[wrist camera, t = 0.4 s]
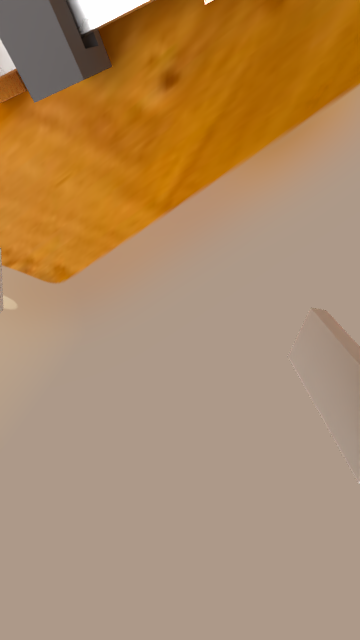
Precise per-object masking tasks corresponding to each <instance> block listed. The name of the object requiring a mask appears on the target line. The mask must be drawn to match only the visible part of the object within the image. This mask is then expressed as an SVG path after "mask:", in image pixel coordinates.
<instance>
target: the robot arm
mask: <svg viewBox="0 0 360 640" xmlns="http://www.w3.org/2000/svg"><path fill="white" fill-rule="evenodd" d="M2 291H3V290H2V265H1V248H0V313H1V312H2V311H3V292H2ZM288 359H289V360H290V362H291V364H292V366H293V368H294V369H295V371H296V373H297V375H298V376H299V378H300V380H301V382H302V384H303V385H304V387H305V389H306V391H307V393H308V394H309V396H310V398H311V400H312V401H313V403H314V405H315V407H316V408H317V410H318V412H319V414H320V416H321V417H322V419H323V421H324V423H325V425H326V426H327V428H328V430H329V432H330V433H331V435H332V437H333V439H334V441H335V442H336V444H337V446H338V448H339V450H340V451H341V453H342V455H343V457H344V458H345V460H346V462H347V464H348V466H349V467H350V469H351V471H352V473H353V475H354V476H355V478H356V480H357V482H358V483H360V346H359V345H358V344H357V343H356V342H355V341H354V340H353V339H352V338H351V337H350V336H349V335H348V334H347V332H345V330H344V329H343V328H342V327H341V326H340V325H339V324H338V323H337V322H336V321H335V320H334V318H333V317H332V316H331V315H330V314H329V313H328V312H327V311H326V310H321V309H316V308H310V310H309V312H308V314H307V316H306V319H305V321H304V323H303V325H302V327H301V329H300V331H299V333H298V336H297V338H296V340H295V342H294V344H293V346H292V348H291V350H290V352H289V354H288Z"/></svg>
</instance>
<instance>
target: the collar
mask: <svg viewBox="0 0 360 640" xmlns="http://www.w3.org/2000/svg"><path fill="white" fill-rule="evenodd" d="M0 39H1V41H2V43H3V45H4V47H5V49H6V50H7V52H8V54H9V56H10V58H11V60H12V62H13V63H14V65H15V67H16V69H17V71H18V73H19V75H20V76H21V78H22V80H23V82H24V84H25V86H26V88H27V89H28V91H29V93H30V95H31V97H32V99H33V100H34V102H37V101H39V100H41V99H43V98H46V97H48V96H50V95H52V94H54V93H56V92H59V91H61V90H63V89H65V88H67V87H69V86H71V85H74V84H76V83H78V82H80V81H82V80H84V79H86V78H89V77H91V76H93V75H95V74H97V73H99V72H101V71H104V70H106V69H108V68H110V67H112V65H111V62H110V60H109V57H108V55H107V52H106V49H105V47H104V44H103V42H102V39H101V36H100V34H99V31H98V30H96V31H94V32H92V33H90V34H88V35H86V36H84V37H82V38H81V37H80V35H79V32H78V30H77V27H76V25H75V23H74V20H73V18H72V15H71V13H70V11H69V8H68V6H67V3H66V1H65V0H0Z"/></svg>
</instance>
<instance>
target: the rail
mask: <svg viewBox="0 0 360 640" xmlns="http://www.w3.org/2000/svg"><path fill="white" fill-rule="evenodd" d="M65 1H66V3H67V6H68V8H69V11H70V13H71V15H72V18H73V20H74V23H75V25H76V27H77V30H78V32H79V35H80V37H81V38H82V37H84V36H86V35H88V34H90V33H92V32H94V31H96V30H98V29H100V28H102V27H104V26H106V25H108V24H110V23H112V22H114V21H116V20H118V19H120V18H122V17H124V16H126V15H128V14H130V13H132V12H134V11H136V10H138V9H140V8H141V7H143V6H145V5H147V4H149V3H151V2H153V1H155V0H65ZM212 1H214V0H204V2H205V4H207V3H210V2H212ZM16 71H17V69H16V67H15V65H14V63H13V62H12V60H11V58H10V56H9V54H8V52H7V50H6V49H5V47H4V45H3V43H2V41H1V39H0V103H2V102H4V101H6V100H8V99H10V98H12V97H15V96H17V95H19V94H21V93H23V92H25V91H27V90H26V89H25V87H24V85H23V83H22V81H21V79H20V77H19V76H18V74H17V72H16Z"/></svg>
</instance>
